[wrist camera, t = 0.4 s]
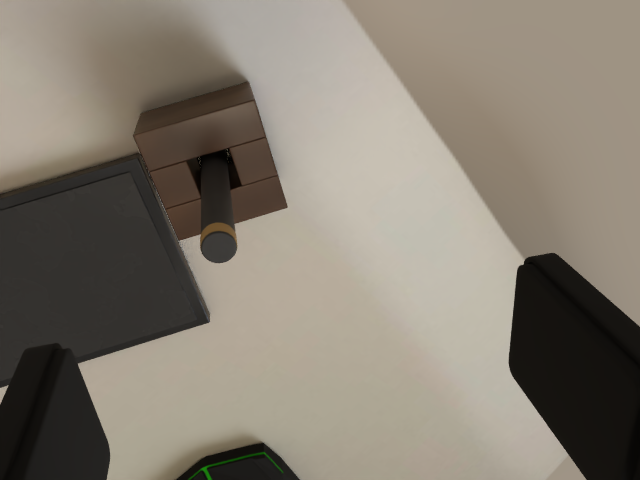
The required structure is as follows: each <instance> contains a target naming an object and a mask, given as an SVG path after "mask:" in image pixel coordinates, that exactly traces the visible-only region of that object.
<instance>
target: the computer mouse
mask: <svg viewBox="0 0 640 480" xmlns="http://www.w3.org/2000/svg"><path fill="white" fill-rule="evenodd" d="M177 480H299V479H298V477H297V476H296V475H295V474H294V473H293V471H292V470H291V469H290V468H289V467H288V466H287V465H286V463H285V462H284V461H283V460H282V459H281V458H280V457H279V456H278V455H277V454H276V453H275V452H273V451H272V450H271V449H270V448H269V447H267V446H266V445H265V444H264V443H261V444H256V445H251V446H246V447H243V448H239V449H235V450H231V451H227V452H223V453H219V454H216V455H212V456H208V457H205V458H203V459H201V460H200V461H199V462H198V463H196V464H195V465H194V466H193V467H192V468H190V469H189V470H188V471H187V472H186V473H184V474H183V475H182V476H181V477H180V478H178V479H177Z"/></svg>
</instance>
